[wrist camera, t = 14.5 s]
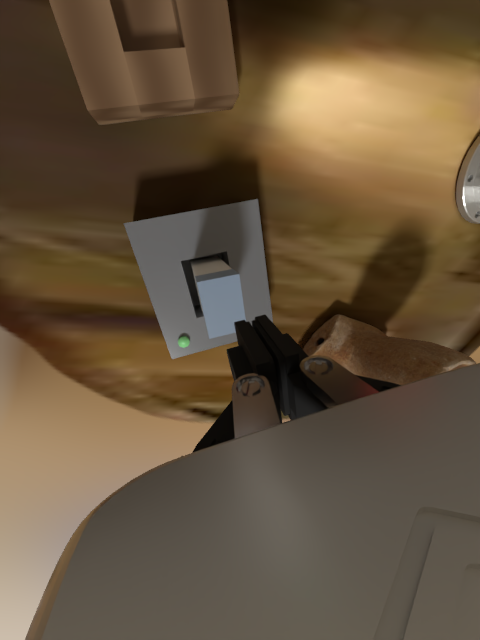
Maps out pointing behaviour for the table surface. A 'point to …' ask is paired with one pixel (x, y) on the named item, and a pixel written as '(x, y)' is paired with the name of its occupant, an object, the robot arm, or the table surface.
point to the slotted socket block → (149, 56)
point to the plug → (218, 295)
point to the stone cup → (381, 352)
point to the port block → (177, 276)
